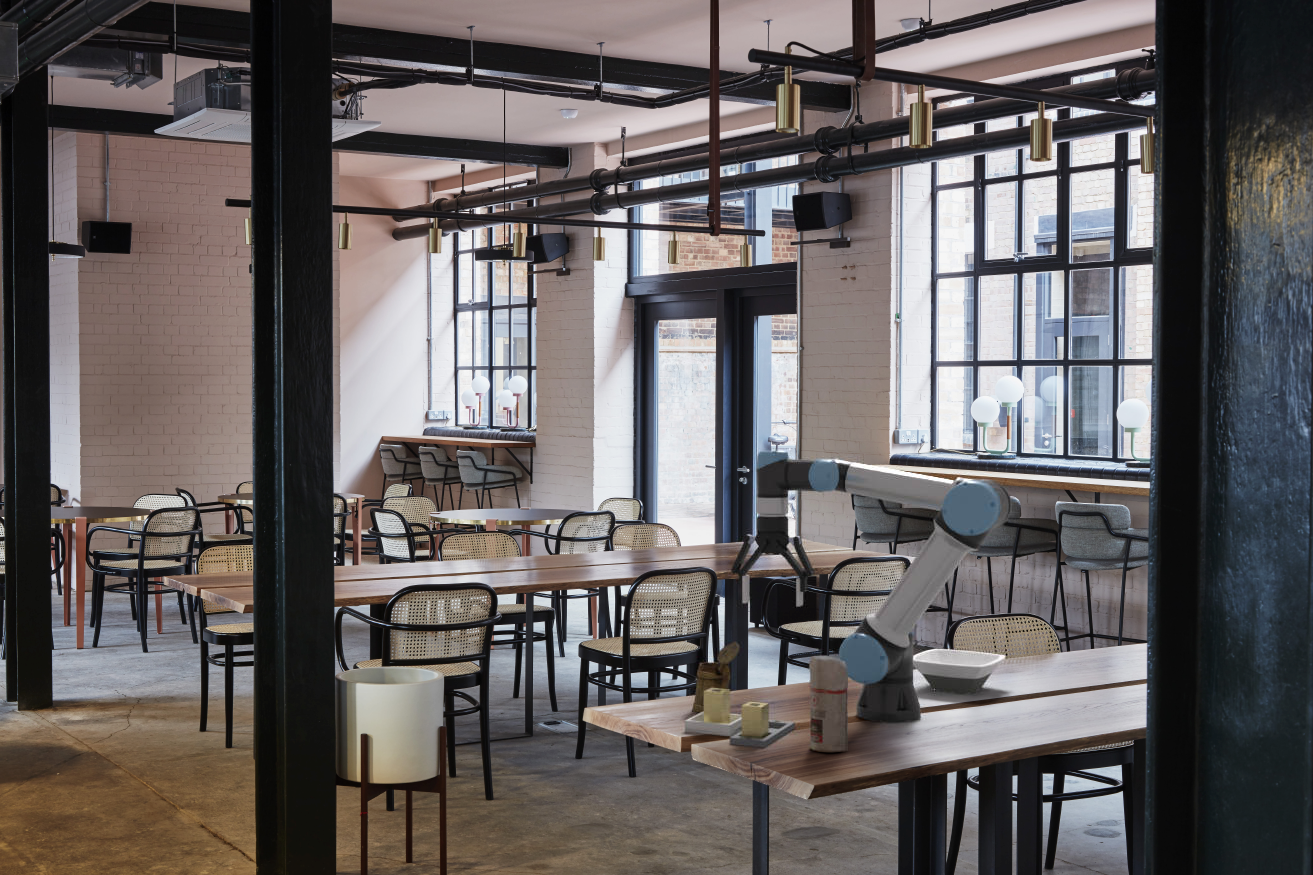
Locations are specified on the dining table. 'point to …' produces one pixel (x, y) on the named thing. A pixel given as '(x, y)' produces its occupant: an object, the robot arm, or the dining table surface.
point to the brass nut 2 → (755, 720)
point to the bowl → (956, 669)
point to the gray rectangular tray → (774, 734)
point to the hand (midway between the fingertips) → (772, 604)
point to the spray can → (828, 704)
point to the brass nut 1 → (717, 705)
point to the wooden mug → (714, 674)
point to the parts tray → (713, 725)
